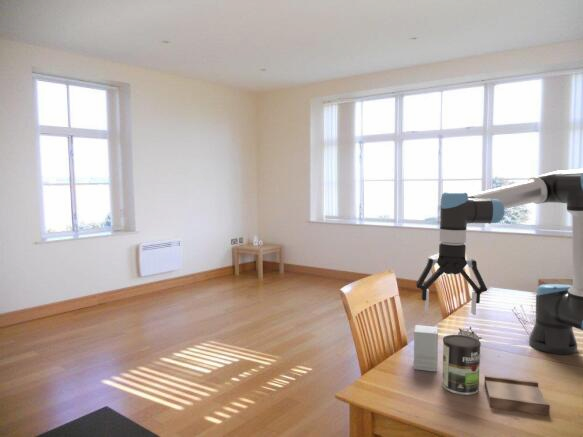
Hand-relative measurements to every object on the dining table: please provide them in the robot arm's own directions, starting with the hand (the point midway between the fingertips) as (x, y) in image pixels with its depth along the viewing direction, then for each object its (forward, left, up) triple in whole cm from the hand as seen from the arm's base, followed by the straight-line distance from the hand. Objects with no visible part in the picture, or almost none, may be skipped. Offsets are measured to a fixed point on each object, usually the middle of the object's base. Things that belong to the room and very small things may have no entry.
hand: (449, 312), depth 133 cm
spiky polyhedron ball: (-7, -26, -21) cm, 34 cm away
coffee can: (-3, +5, -21) cm, 22 cm away
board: (-17, +8, -21) cm, 28 cm away
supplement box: (+7, -7, -21) cm, 23 cm away
